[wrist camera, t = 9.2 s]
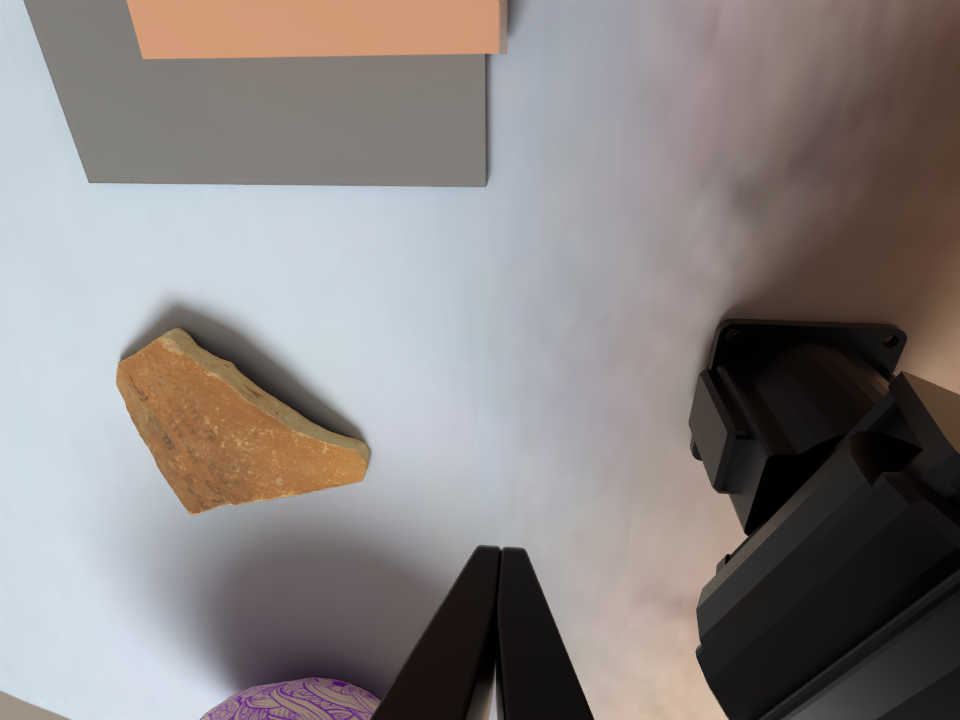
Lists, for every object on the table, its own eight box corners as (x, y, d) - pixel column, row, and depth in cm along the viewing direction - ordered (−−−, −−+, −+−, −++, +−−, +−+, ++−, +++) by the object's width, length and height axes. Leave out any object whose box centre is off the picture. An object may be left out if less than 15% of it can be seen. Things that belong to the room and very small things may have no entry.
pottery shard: (385, 458, 26) (370, 494, 24) (252, 517, 30) (229, 554, 27) (238, 283, 23) (205, 307, 20) (103, 372, 26) (62, 402, 23)
